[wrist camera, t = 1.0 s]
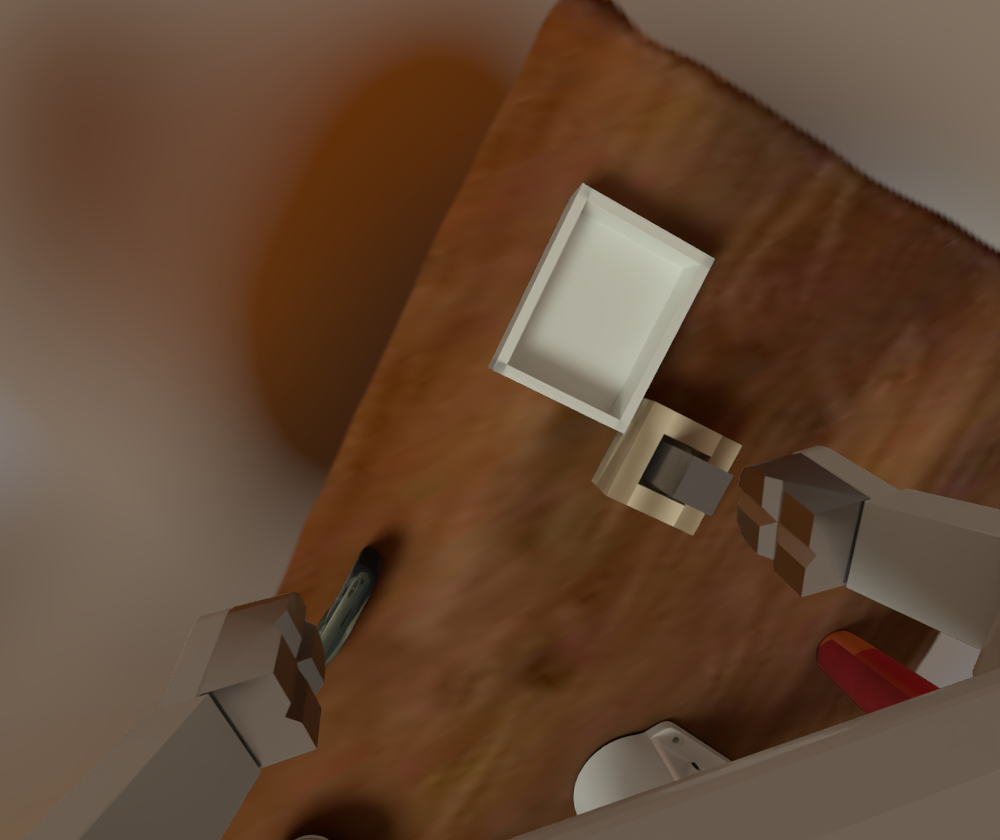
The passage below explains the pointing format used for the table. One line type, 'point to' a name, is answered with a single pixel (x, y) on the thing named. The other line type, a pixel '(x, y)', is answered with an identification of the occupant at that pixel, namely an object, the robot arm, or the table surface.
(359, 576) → the mobile phone
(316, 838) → the lidded jar
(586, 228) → the grey tray
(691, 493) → the pin
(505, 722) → the table surface
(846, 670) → the paper cup
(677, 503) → the socket block
